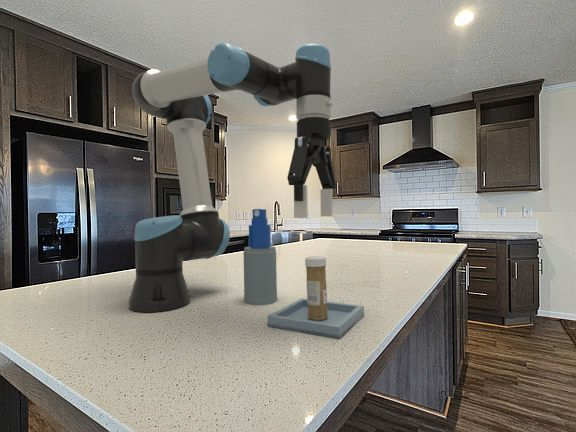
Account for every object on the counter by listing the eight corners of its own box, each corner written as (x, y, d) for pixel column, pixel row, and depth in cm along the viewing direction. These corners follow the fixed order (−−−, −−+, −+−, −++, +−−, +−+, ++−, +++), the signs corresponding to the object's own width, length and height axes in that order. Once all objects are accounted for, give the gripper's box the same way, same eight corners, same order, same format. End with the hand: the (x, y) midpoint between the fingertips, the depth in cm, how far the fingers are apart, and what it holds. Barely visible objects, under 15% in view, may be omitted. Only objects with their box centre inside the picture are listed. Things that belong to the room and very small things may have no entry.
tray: (267, 326, 71) (267, 315, 71) (301, 307, 85) (301, 298, 85) (339, 339, 63) (339, 327, 63) (363, 315, 77) (363, 305, 77)
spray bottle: (268, 306, 87) (266, 208, 86) (238, 303, 90) (236, 209, 90) (282, 297, 95) (280, 208, 95) (253, 295, 98) (252, 209, 98)
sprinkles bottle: (332, 318, 74) (330, 256, 74) (315, 322, 71) (313, 259, 71) (319, 313, 78) (317, 254, 77) (303, 317, 75) (301, 257, 75)
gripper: (304, 101, 61) (305, 218, 61) (348, 129, 83) (349, 215, 83) (268, 107, 65) (270, 218, 65) (320, 133, 87) (321, 215, 87)
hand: (314, 217), depth 74 cm, fingers open, 13 cm apart
